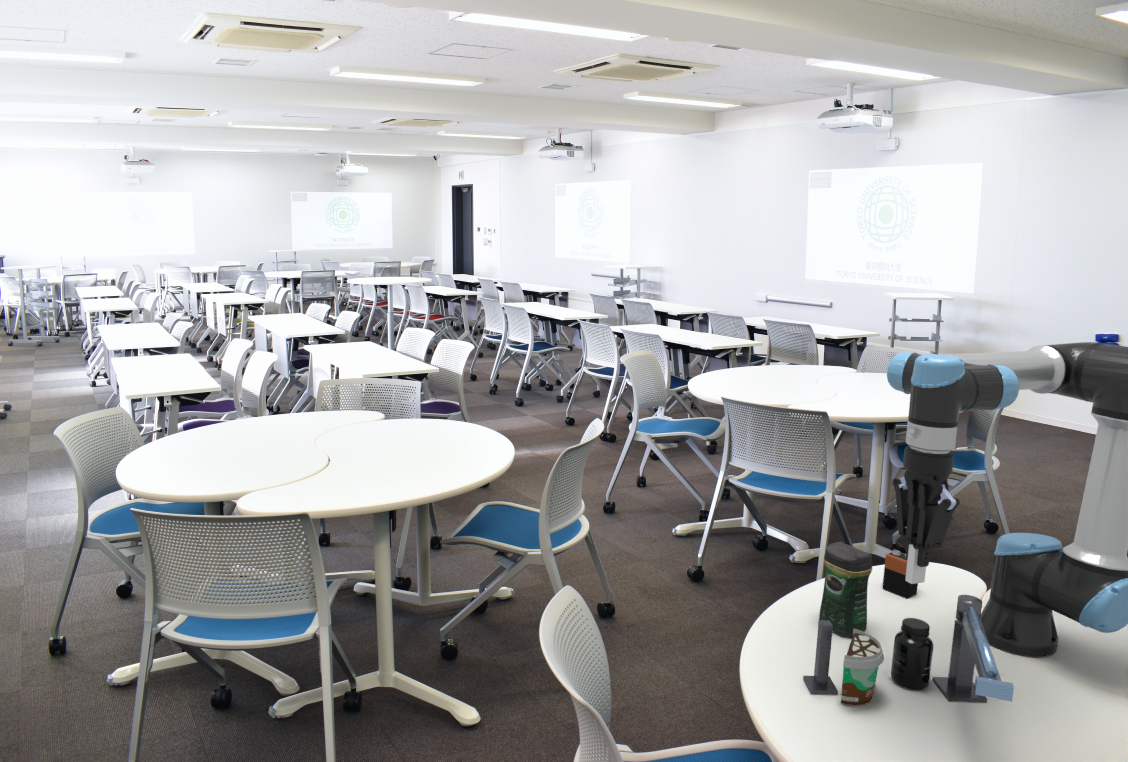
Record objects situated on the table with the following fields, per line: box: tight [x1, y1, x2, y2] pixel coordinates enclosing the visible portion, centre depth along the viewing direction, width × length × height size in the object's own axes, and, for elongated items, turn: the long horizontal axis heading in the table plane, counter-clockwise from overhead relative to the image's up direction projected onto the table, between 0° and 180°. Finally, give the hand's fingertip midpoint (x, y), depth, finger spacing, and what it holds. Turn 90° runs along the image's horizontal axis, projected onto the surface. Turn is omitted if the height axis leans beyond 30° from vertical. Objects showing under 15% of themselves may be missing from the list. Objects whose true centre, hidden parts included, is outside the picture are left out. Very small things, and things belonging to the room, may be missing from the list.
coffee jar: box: [818, 541, 873, 637], centre depth 170 cm, size 10×8×19 cm
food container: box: [840, 629, 885, 706], centre depth 145 cm, size 12×6×10 cm, turn 153°
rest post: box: [802, 619, 839, 696], centre depth 147 cm, size 5×5×13 cm
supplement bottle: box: [890, 617, 934, 691], centre depth 150 cm, size 7×7×12 cm
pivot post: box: [931, 619, 988, 704], centre depth 147 cm, size 7×7×14 cm
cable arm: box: [955, 594, 1015, 702], centre depth 133 cm, size 30×5×4 cm, turn 160°
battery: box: [882, 549, 919, 599], centre depth 190 cm, size 4×7×10 cm, turn 36°
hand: (914, 581), depth 135 cm, fingers closed
